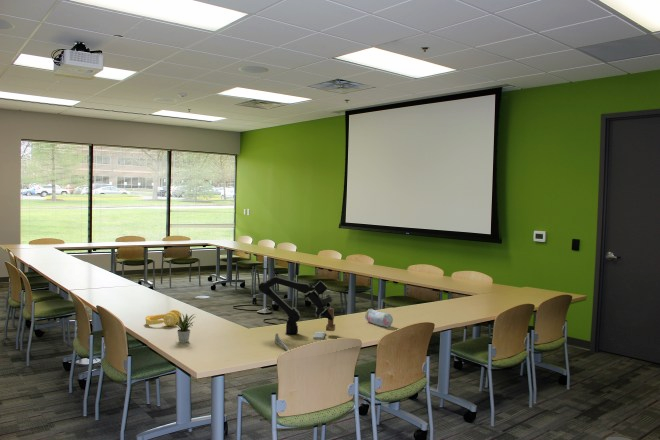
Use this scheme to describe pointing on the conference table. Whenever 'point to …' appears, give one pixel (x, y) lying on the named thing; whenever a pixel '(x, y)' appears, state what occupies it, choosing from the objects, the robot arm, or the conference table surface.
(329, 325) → the marking gauge
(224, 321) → the conference table surface
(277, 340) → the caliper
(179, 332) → the house plant
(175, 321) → the headset
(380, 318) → the pencil case
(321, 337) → the board
